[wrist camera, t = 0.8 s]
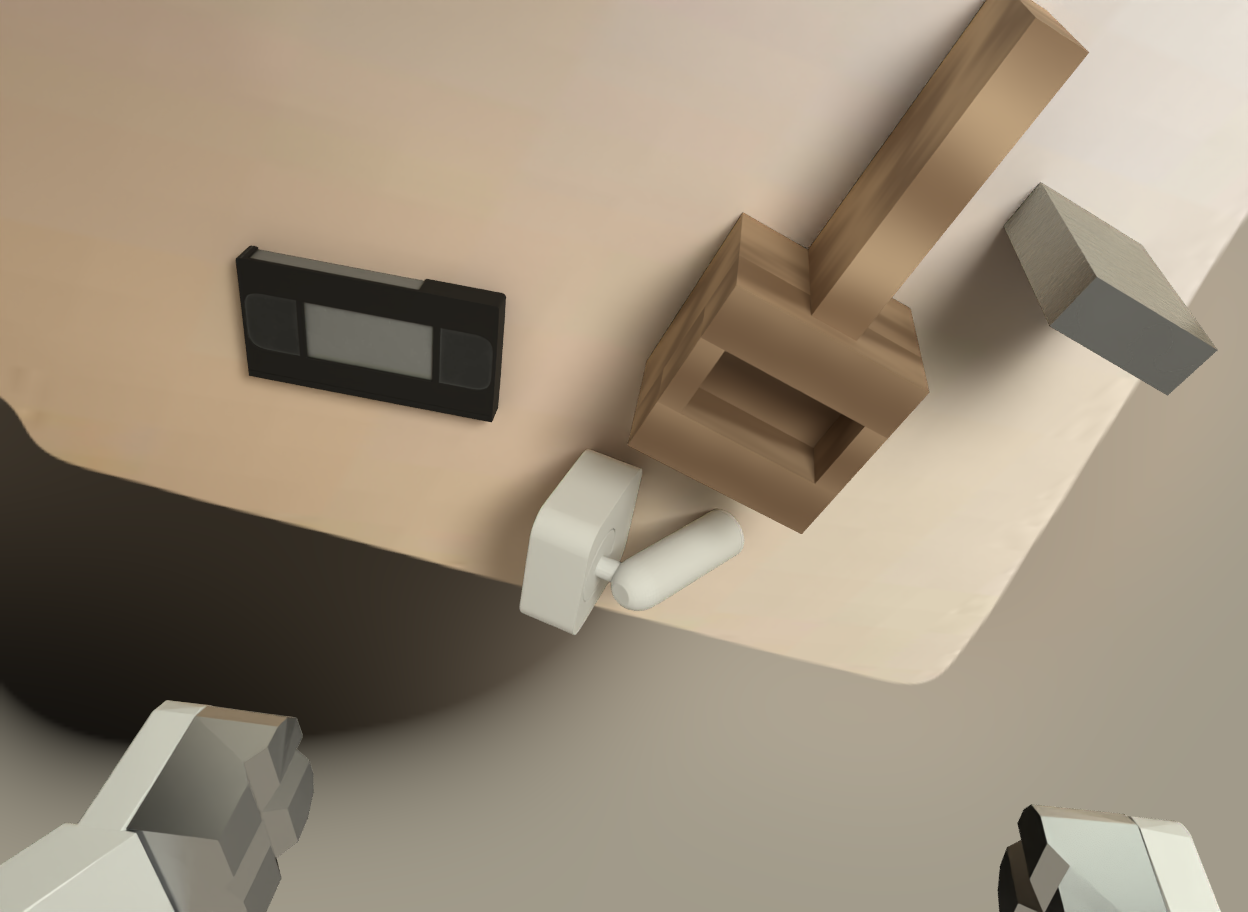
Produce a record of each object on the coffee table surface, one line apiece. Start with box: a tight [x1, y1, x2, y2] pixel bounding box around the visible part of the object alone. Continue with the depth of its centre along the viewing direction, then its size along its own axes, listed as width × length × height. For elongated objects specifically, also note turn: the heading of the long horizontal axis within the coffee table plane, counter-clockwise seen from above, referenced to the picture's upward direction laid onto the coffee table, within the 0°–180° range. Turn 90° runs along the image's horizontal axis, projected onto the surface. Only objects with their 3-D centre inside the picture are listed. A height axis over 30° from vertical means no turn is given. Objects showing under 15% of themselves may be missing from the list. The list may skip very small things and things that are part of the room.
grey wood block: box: [1004, 183, 1217, 395], centre depth 42 cm, size 2×6×10 cm, turn 62°
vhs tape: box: [236, 246, 506, 422], centre depth 54 cm, size 8×14×2 cm, turn 82°
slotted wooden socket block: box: [628, 0, 1089, 534], centre depth 44 cm, size 24×10×8 cm, turn 152°
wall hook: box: [520, 449, 744, 635], centre depth 56 cm, size 8×10×10 cm
